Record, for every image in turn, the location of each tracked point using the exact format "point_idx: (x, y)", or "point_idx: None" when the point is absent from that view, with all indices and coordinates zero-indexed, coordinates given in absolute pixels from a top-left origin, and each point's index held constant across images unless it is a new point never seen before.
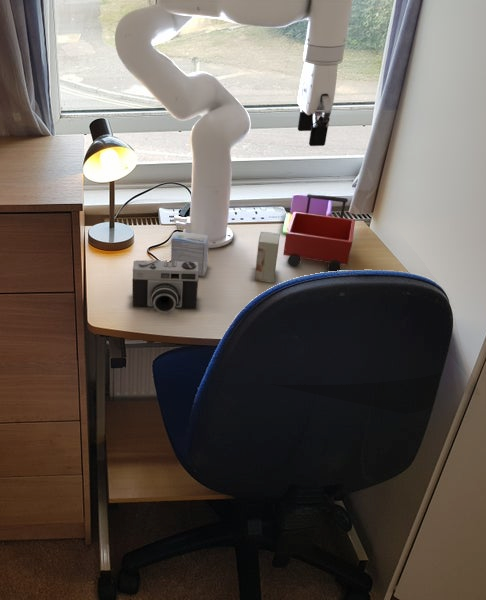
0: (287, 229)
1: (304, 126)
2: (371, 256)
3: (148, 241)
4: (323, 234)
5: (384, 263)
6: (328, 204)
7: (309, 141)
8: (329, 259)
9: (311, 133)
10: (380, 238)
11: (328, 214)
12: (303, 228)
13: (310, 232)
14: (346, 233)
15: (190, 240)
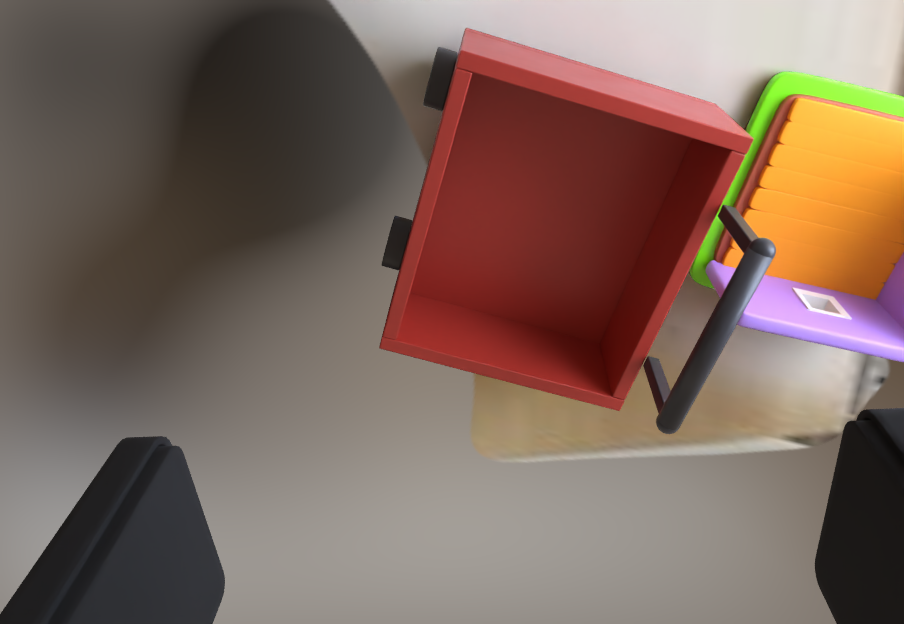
0: (790, 97)
1: (861, 528)
2: (533, 389)
3: None
4: (641, 254)
5: (480, 415)
6: (863, 336)
7: (119, 467)
8: (409, 233)
9: (24, 582)
10: (678, 450)
11: None
12: (686, 171)
13: (666, 199)
14: (607, 347)
15: None
